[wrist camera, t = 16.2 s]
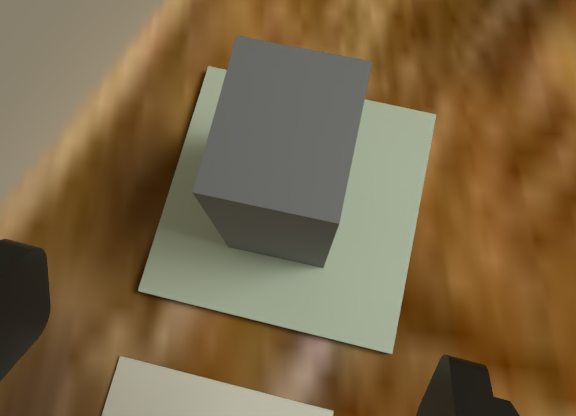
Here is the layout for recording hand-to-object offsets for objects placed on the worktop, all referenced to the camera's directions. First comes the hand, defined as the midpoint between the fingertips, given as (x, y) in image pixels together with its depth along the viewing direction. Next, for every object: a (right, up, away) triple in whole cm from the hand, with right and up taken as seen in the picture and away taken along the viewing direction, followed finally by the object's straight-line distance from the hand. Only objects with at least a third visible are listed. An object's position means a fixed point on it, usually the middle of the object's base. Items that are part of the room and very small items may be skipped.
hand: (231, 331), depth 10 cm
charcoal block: (+1, +3, +15) cm, 15 cm away
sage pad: (+1, +3, +16) cm, 16 cm away
